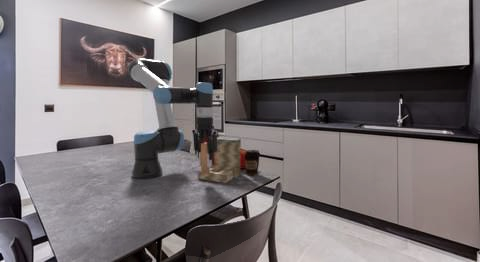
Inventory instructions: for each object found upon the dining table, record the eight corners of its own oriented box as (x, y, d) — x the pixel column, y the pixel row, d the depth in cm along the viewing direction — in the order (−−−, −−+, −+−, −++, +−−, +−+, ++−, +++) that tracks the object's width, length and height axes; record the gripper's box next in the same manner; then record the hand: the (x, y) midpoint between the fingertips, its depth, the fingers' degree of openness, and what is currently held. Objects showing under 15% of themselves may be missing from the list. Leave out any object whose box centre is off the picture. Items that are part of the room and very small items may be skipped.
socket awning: (197, 178, 120) (197, 141, 118) (215, 170, 135) (215, 137, 133) (224, 183, 113) (224, 143, 111) (240, 173, 128) (240, 139, 126)
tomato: (224, 169, 136) (224, 151, 135) (233, 164, 149) (233, 147, 148) (246, 171, 132) (247, 153, 131) (253, 166, 144) (253, 149, 143)
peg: (199, 172, 111) (199, 143, 109) (204, 170, 114) (204, 142, 113) (206, 174, 109) (206, 144, 107) (211, 171, 112) (211, 143, 111)
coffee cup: (258, 177, 122) (259, 152, 120) (243, 176, 124) (243, 152, 122) (260, 172, 130) (260, 149, 129) (245, 171, 132) (246, 148, 131)
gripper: (185, 116, 109) (186, 165, 112) (215, 117, 101) (216, 170, 104) (195, 115, 116) (195, 162, 118) (224, 116, 108) (224, 166, 111)
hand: (205, 165), depth 111 cm, fingers closed on peg, 4 cm apart
